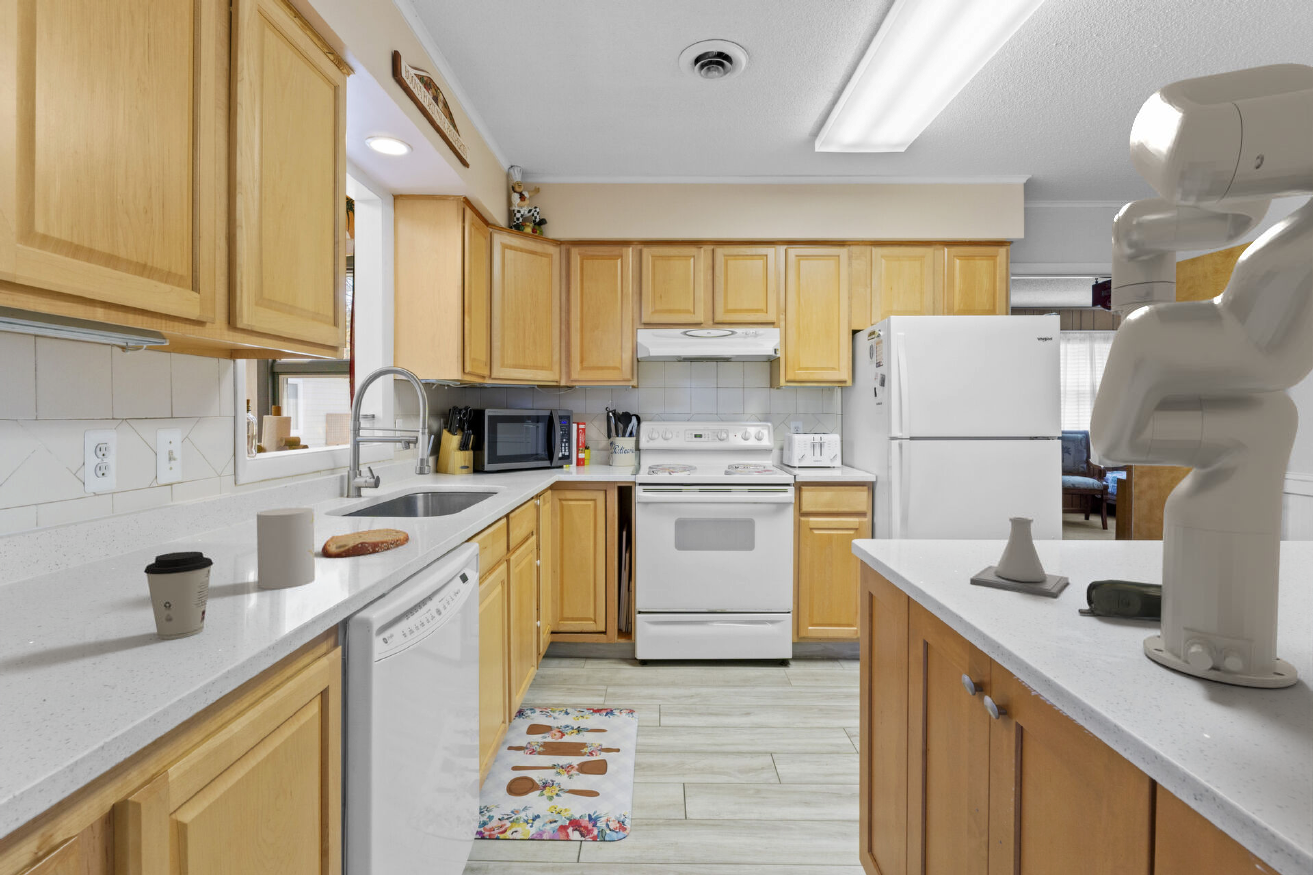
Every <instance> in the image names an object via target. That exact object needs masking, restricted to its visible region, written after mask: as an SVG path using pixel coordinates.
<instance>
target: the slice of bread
mask: <svg viewBox="0 0 1313 875" xmlns="http://www.w3.org/2000/svg"><path fill="white" fill-rule="evenodd" d="M409 536H410V535H409V534H408V533H407V532H406V531H403V530H399V529H395V528H379V529H377V528H376V529H370V530H369V529H368V530H362V531H357V532H353V533H348V534H347V533H345V534H342V535H335V534H334V535H333V536H331V537H330V538H328V540H326V542H324V544H323V546H322V548H321V554H322V556H324V558H326V559H346V558H351V557H353V558H354V557H360V556H368V555H374V554H379V553H382V552H383V553H384V552H387V551H390V550H391V551H392V550H395V549H397V548H399V547H402V546H405V545H407V544H408V543H409V542H410V537H409ZM408 541H409V542H408ZM406 543H407V544H406Z"/></svg>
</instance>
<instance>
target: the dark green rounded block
mask: <svg viewBox="0 0 1313 875" xmlns="http://www.w3.org/2000/svg"><path fill="white" fill-rule="evenodd" d="M1161 596H1162V584H1159V583H1146V582H1139V581H1130V580H1122V579H1121V580H1120V579H1106V580H1094V581H1092V582H1090V583H1089V584H1088V586H1087V588H1086V603H1087V605H1088V608H1087V609H1083V608H1078V610H1077V612H1078V614H1079V615H1091V616H1094V615H1095V616H1100V617H1101V616H1104V617H1112V618H1113V617H1114V618H1124V619H1134V620H1143V621H1144V620H1146V621H1156V622H1161Z"/></svg>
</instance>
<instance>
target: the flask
mask: <svg viewBox="0 0 1313 875" xmlns="http://www.w3.org/2000/svg"><path fill="white" fill-rule="evenodd" d="M1008 519H1009V522H1010V524H1011V526H1010V528H1011V530H1010V533H1009V538H1008V541H1007V543H1006V545H1005V548H1004V550H1003V553H1002V555H1001V557H1000V560H999V562H998V563H997V565H996V566H995V567H996V569H995V572H994V574H996V575H999V576H1001V577H1003V578H1007V579H1012V580H1017V581H1034V582H1040V581H1042V580H1045V579H1047V577H1046V574H1047V573H1045V570H1044V566H1043V565H1042V563H1041V559H1040V556H1039V555H1038V553H1037V550H1036V547H1035V545H1034V542H1033V536H1032V527H1031V526H1032V523H1033V522H1034V519H1033V518H1030V517H1022V516H1011V517H1009V518H1008Z"/></svg>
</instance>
